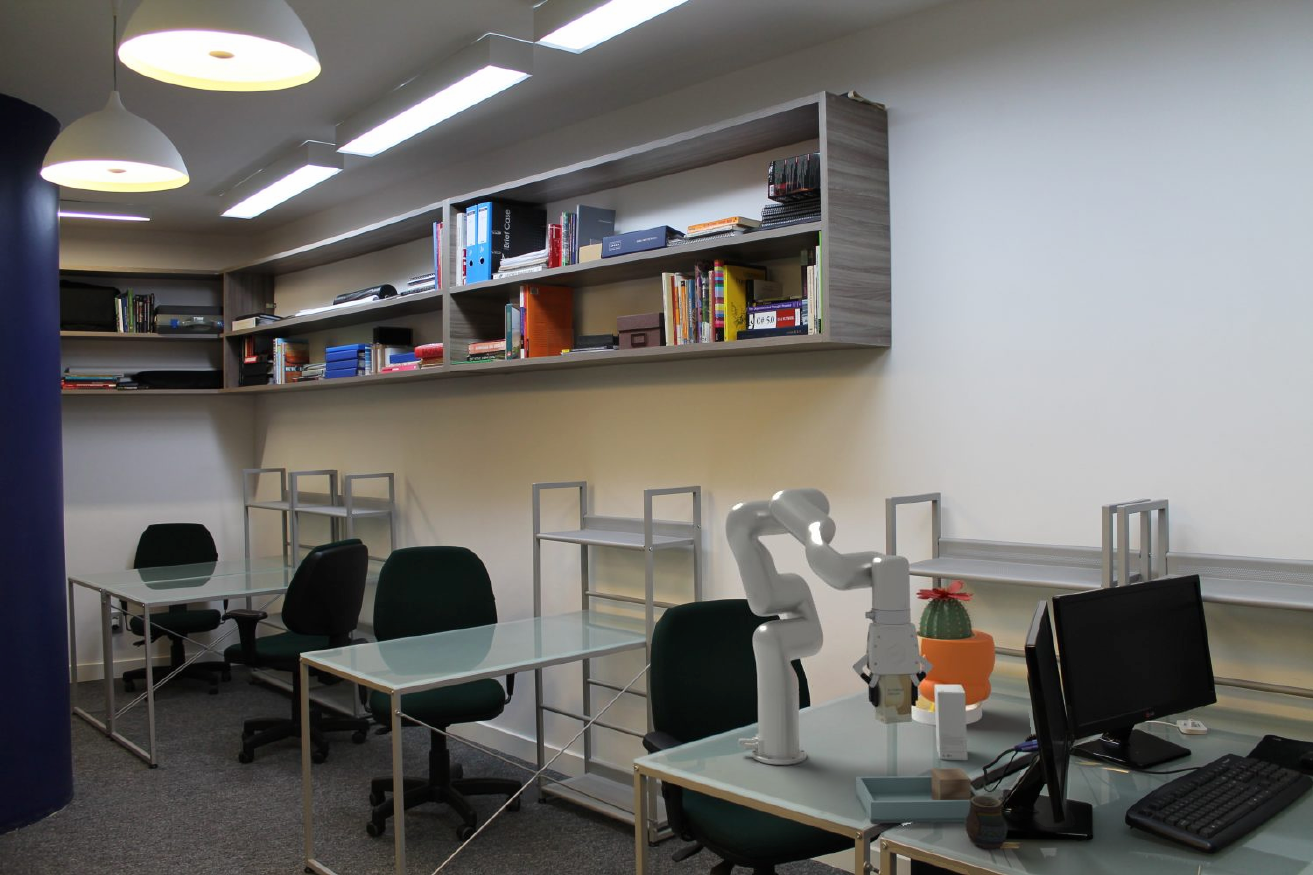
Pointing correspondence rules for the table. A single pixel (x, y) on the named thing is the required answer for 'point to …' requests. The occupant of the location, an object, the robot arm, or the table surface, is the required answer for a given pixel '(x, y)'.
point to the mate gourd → (986, 822)
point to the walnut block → (950, 785)
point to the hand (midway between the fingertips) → (893, 704)
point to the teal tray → (907, 800)
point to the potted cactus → (952, 653)
